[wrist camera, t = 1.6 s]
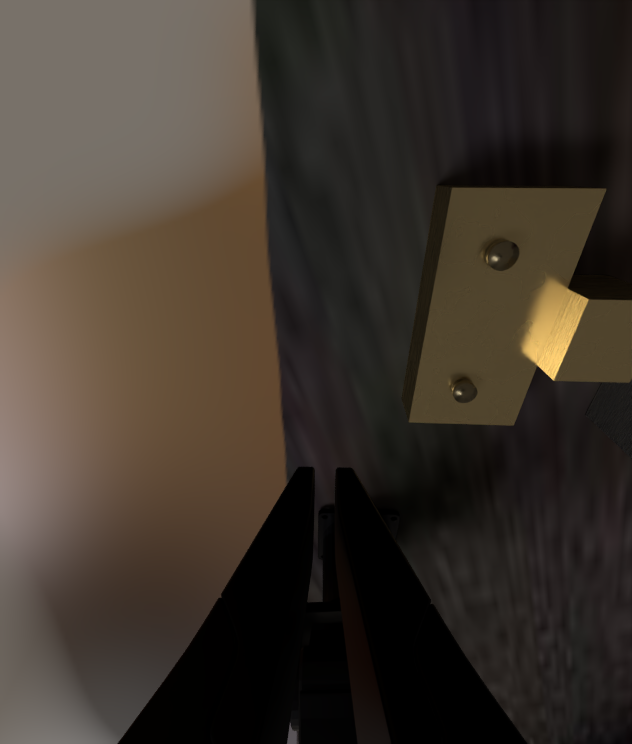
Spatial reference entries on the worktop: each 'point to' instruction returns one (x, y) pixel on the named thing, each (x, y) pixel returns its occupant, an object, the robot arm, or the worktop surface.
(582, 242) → the brass leaf
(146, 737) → the robot arm
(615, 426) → the fixed steel leaf
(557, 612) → the worktop surface
